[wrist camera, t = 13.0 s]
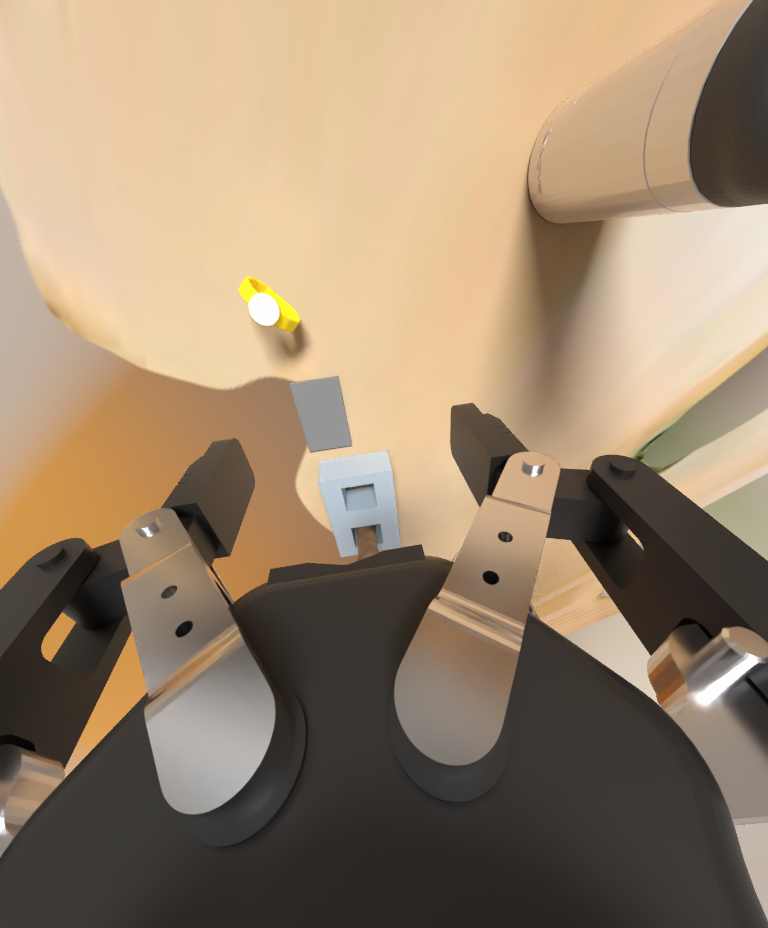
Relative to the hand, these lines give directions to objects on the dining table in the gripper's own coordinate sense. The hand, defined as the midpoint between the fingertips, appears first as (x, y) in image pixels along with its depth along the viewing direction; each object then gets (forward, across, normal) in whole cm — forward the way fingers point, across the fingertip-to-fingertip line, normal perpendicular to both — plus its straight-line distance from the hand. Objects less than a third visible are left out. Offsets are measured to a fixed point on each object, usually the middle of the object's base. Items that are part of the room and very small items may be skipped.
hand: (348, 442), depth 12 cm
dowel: (+28, +2, +31) cm, 42 cm away
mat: (+28, +5, +12) cm, 31 cm away
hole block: (+28, +2, +27) cm, 39 cm away
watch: (+28, +7, -2) cm, 29 cm away
